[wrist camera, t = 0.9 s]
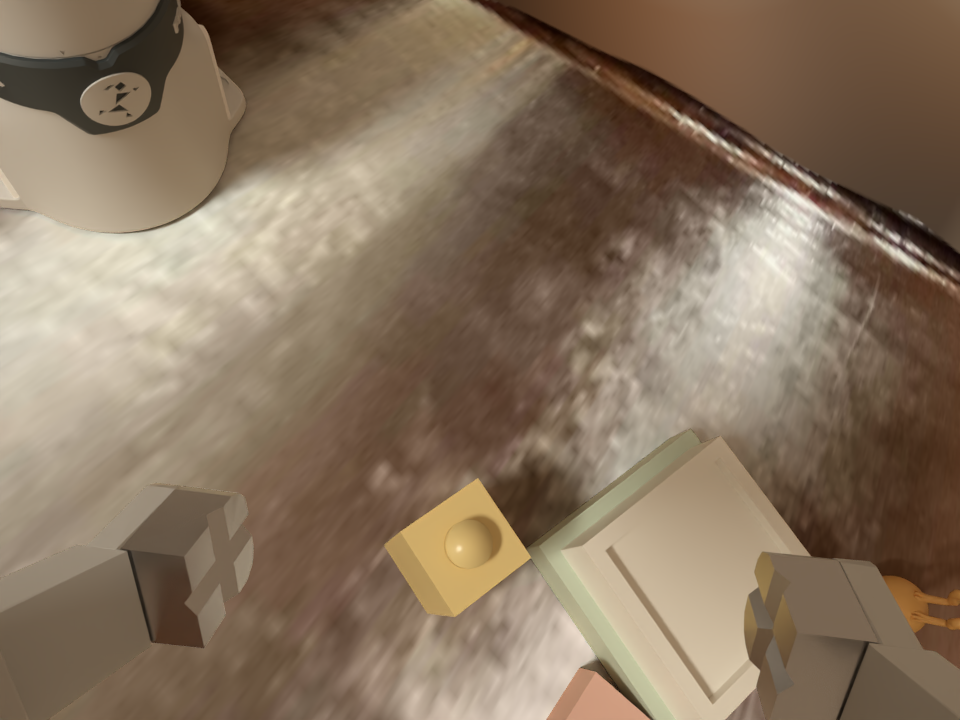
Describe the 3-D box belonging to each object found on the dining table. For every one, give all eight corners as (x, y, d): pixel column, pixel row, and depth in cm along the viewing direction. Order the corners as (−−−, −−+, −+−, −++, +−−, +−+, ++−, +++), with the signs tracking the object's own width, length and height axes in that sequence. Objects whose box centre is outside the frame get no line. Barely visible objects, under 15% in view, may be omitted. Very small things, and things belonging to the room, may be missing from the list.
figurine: (856, 540, 50) (1008, 523, 39) (925, 570, 51) (1094, 562, 40) (841, 653, 47) (1002, 669, 36) (915, 684, 47) (1096, 710, 36)
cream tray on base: (524, 549, 44) (559, 541, 38) (670, 438, 49) (721, 414, 43) (652, 738, 42) (710, 762, 36) (790, 601, 47) (862, 602, 41)
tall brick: (383, 545, 42) (402, 530, 33) (447, 500, 44) (481, 475, 35) (427, 613, 42) (457, 617, 33) (490, 565, 44) (536, 556, 35)
